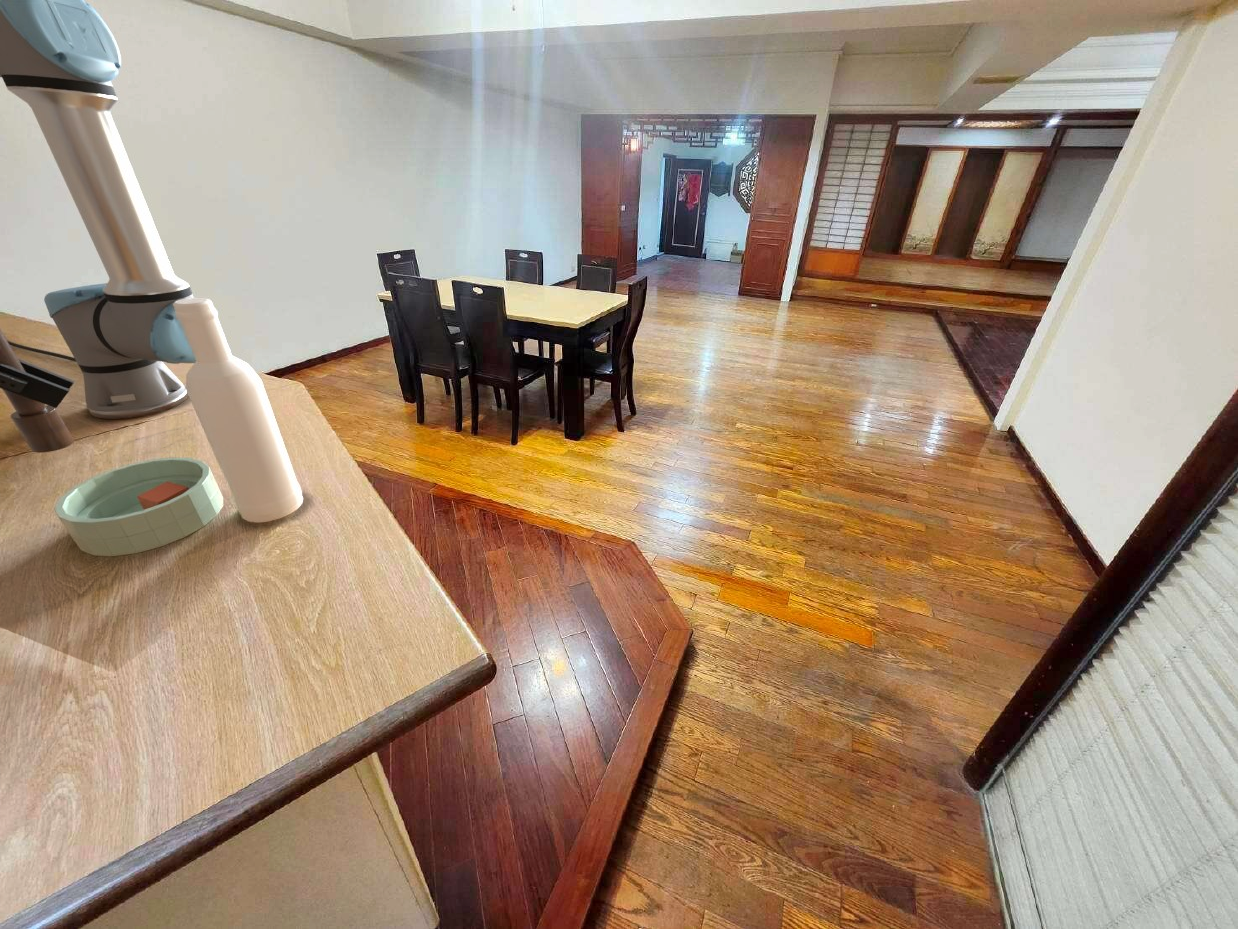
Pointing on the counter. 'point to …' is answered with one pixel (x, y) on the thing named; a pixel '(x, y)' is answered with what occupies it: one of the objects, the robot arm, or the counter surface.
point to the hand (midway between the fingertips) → (65, 394)
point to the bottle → (237, 419)
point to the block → (161, 494)
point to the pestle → (34, 413)
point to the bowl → (139, 506)
